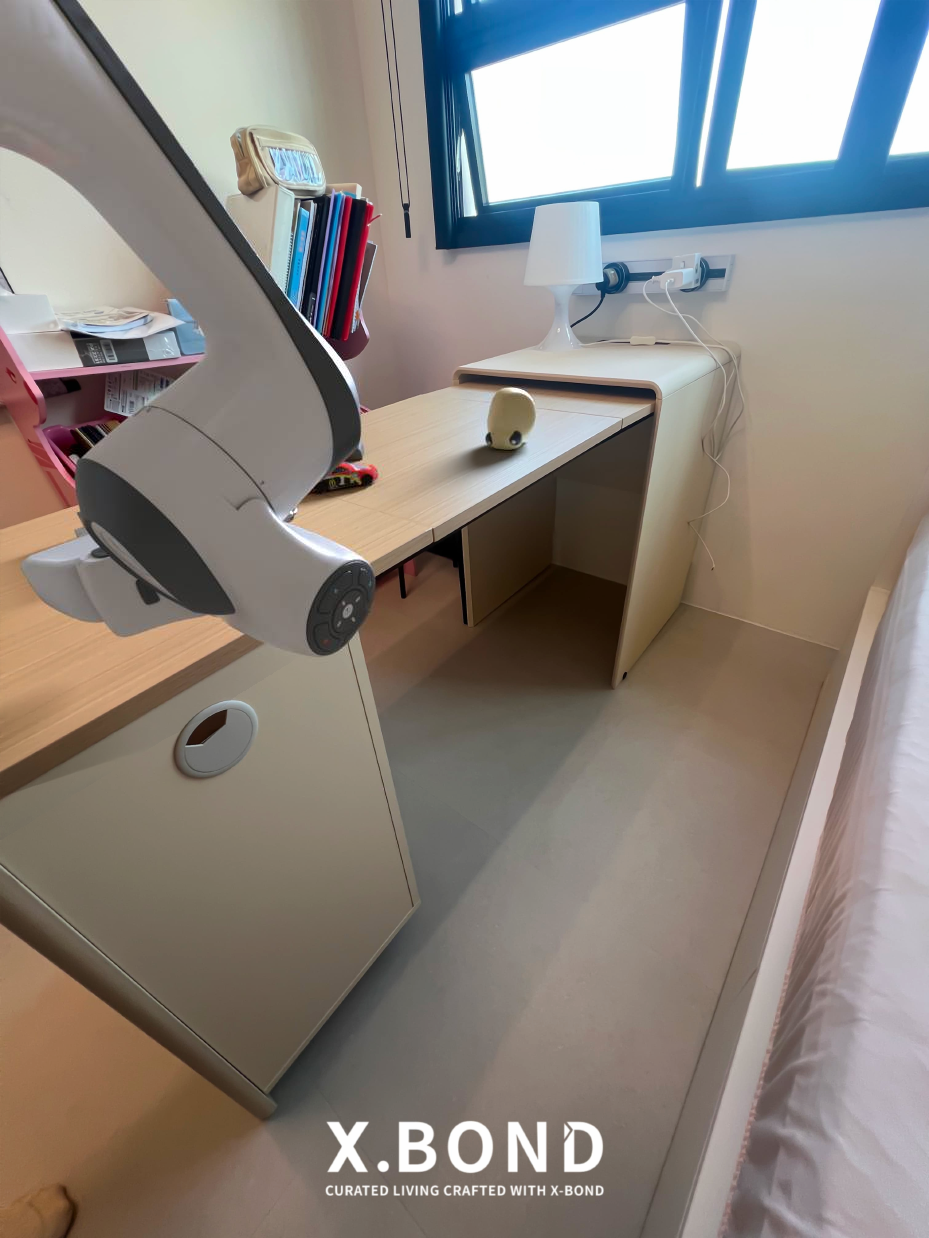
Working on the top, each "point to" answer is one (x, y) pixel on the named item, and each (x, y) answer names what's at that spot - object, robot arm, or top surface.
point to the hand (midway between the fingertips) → (125, 520)
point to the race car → (347, 477)
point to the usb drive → (357, 453)
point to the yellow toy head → (510, 419)
